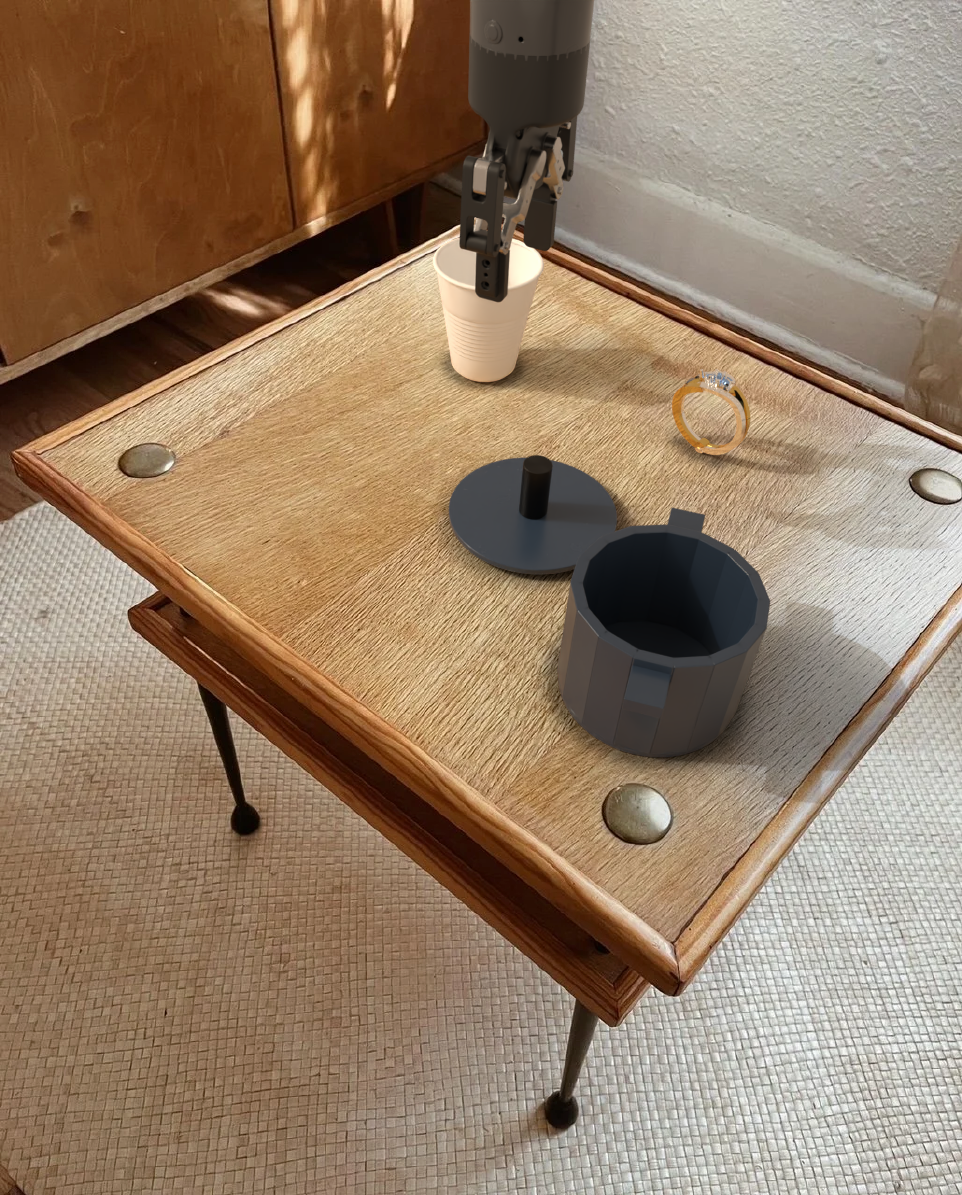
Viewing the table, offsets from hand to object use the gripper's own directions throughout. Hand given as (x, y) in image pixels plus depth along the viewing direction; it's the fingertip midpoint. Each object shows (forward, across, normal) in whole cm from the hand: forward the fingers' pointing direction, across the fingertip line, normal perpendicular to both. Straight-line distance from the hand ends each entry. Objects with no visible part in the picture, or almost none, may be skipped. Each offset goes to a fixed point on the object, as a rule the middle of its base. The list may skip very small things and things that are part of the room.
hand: (515, 271), depth 75 cm
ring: (+19, +11, -14) cm, 26 cm away
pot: (+19, -17, -19) cm, 31 cm away
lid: (+18, -5, -5) cm, 19 cm away
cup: (+19, +14, +8) cm, 24 cm away
